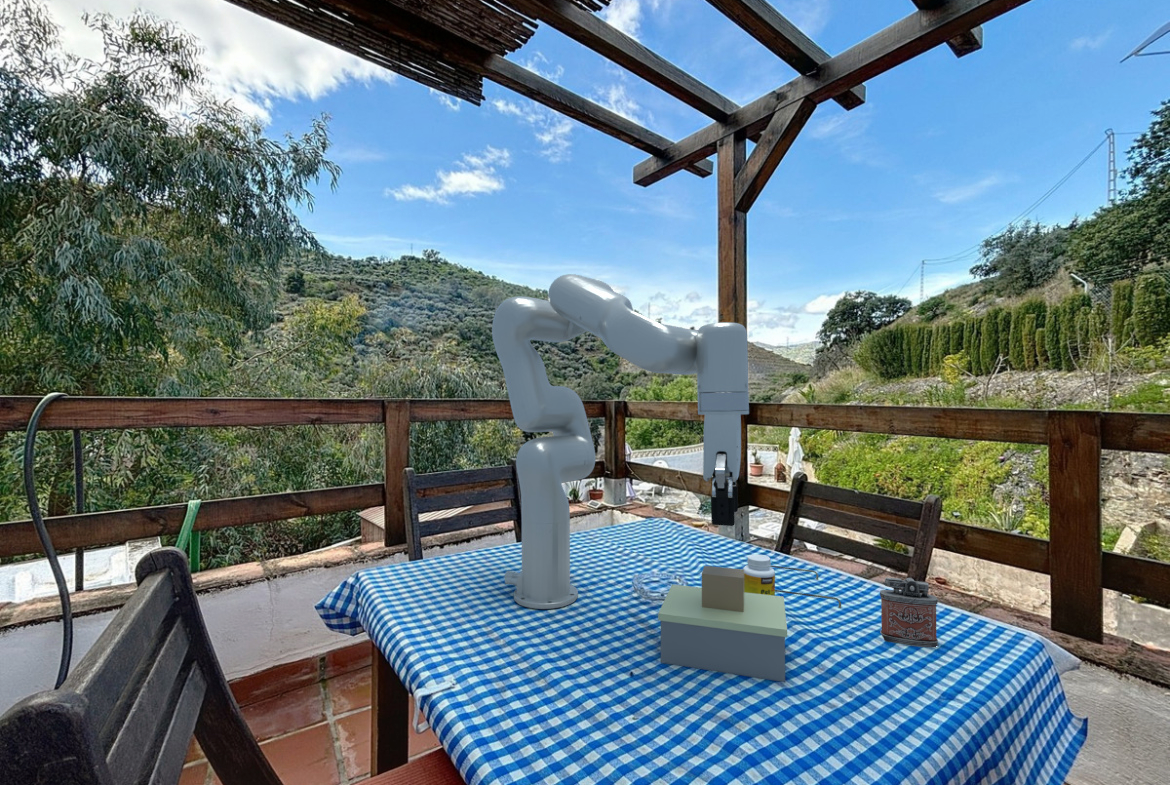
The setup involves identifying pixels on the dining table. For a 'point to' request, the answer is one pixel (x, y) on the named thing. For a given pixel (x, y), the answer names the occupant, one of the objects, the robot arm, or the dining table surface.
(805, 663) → the dining table surface
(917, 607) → the lighter
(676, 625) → the tub
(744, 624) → the lid
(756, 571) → the supplement bottle
